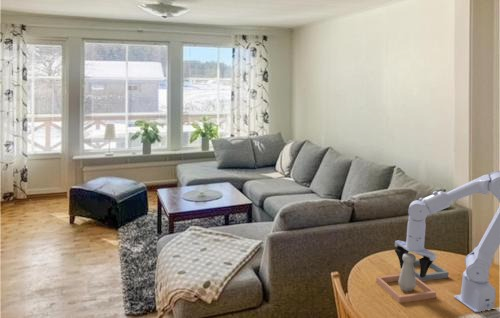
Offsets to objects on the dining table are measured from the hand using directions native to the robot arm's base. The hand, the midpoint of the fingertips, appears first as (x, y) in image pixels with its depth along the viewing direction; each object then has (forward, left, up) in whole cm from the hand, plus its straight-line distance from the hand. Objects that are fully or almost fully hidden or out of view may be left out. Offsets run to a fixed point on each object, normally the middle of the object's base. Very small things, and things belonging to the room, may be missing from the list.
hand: (412, 272), depth 132 cm
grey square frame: (+10, -12, -6) cm, 17 cm away
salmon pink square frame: (0, +3, -6) cm, 7 cm away
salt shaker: (0, +2, -7) cm, 7 cm away
